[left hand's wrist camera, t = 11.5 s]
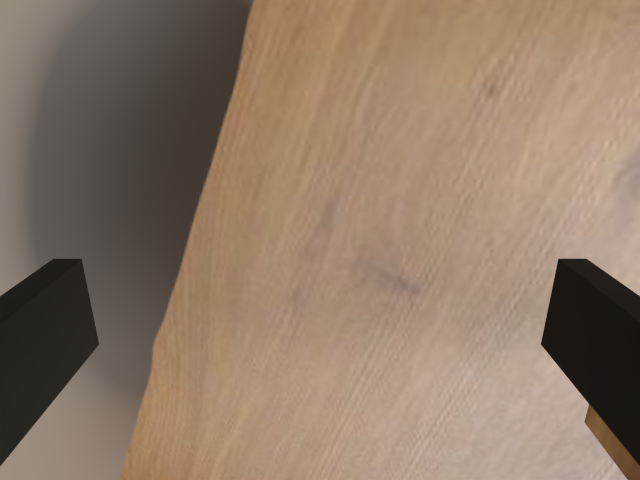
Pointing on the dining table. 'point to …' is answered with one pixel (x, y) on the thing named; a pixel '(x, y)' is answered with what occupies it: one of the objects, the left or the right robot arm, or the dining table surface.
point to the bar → (612, 445)
